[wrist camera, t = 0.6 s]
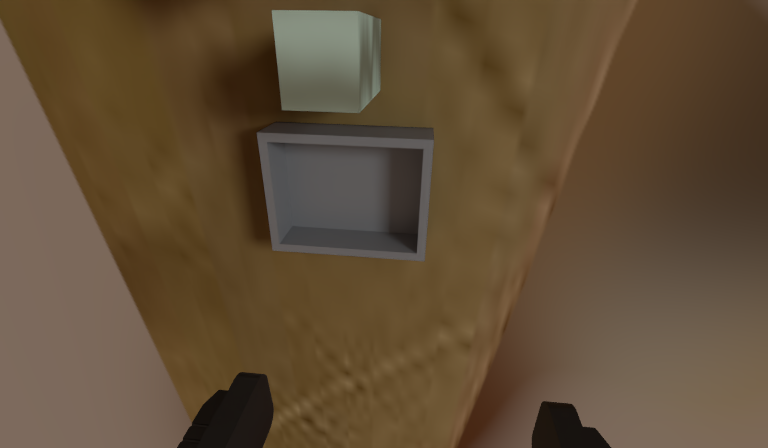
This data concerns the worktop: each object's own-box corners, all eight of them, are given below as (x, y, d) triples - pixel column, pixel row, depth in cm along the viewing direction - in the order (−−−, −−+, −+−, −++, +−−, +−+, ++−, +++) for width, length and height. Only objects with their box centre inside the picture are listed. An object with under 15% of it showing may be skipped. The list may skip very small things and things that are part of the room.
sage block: (321, 18, 28) (271, 9, 19) (380, 19, 28) (358, 11, 19) (325, 88, 30) (282, 110, 21) (380, 90, 30) (359, 112, 21)
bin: (275, 121, 32) (256, 132, 28) (433, 128, 31) (433, 140, 27) (287, 229, 37) (272, 250, 33) (425, 238, 35) (424, 261, 32)
